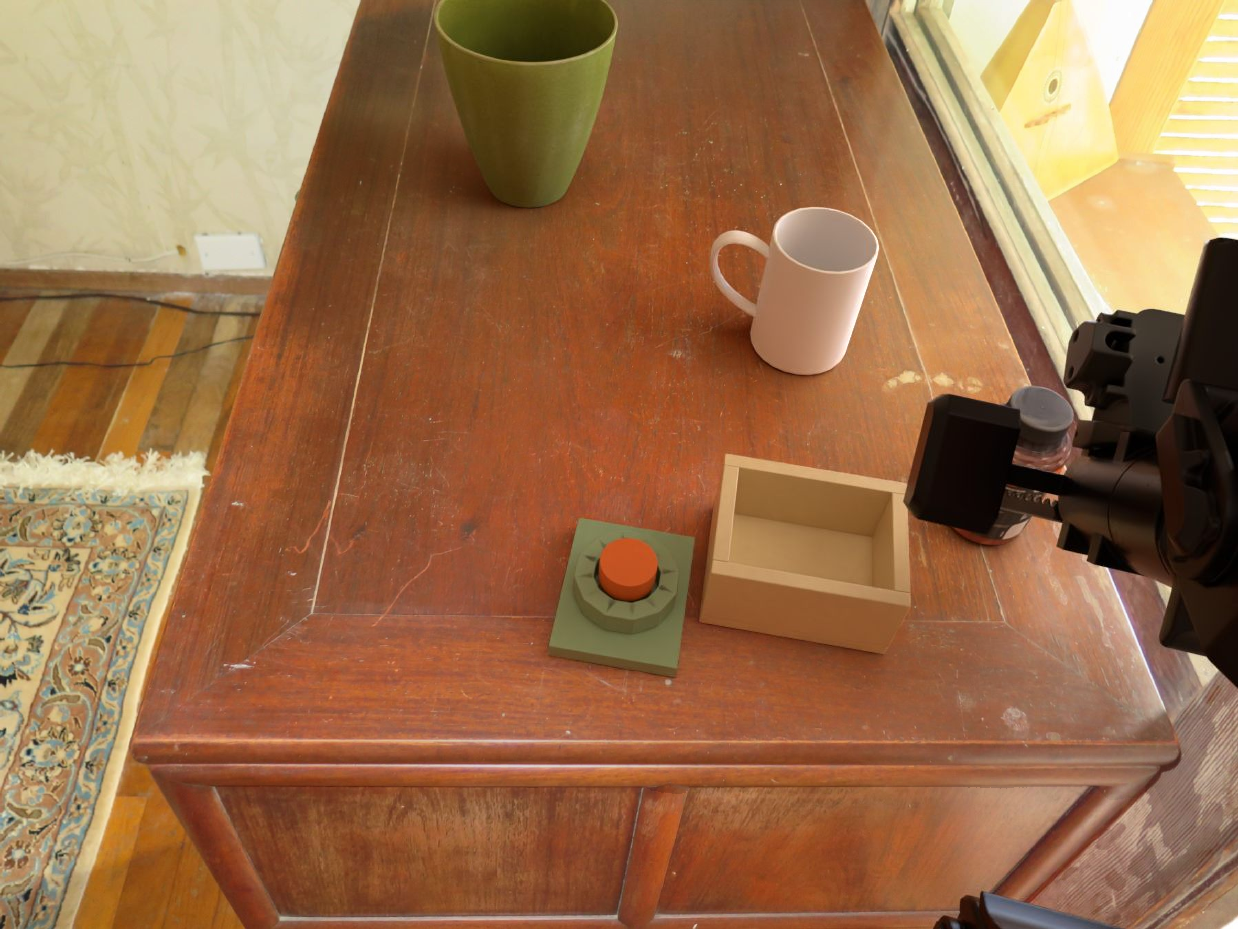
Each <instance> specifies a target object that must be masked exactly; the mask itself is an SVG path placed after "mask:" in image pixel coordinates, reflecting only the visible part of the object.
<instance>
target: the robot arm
mask: <svg viewBox="0 0 1238 929" xmlns="http://www.w3.org/2000/svg"><path fill="white" fill-rule="evenodd" d="M1202 246H1203V247H1202V250H1201V254H1200V257H1199V261H1198V265H1197V268H1196V272H1195V275H1194V279H1193V283H1192V287H1191V290H1190V294H1189V298H1188V302H1187V306H1186V309H1185V312H1184V314H1183V313H1178V312H1173V311H1169V310H1164V309H1158V308H1146V309H1142V310H1140V311H1138V312H1133V311H1127V310H1122V309H1117V310H1115V311H1114V312H1113V313H1108V312H1103V311H1101V312H1099V313H1098V315H1097V316H1096V319H1095V320H1088V319H1087V320H1084V321H1083V322H1082V323H1080V324H1079V325H1078V326H1077V327H1076V329H1074V330H1073V331H1072V333H1071V335H1070V338H1069V341H1068V344H1067V351H1066V359H1065V363H1064V364H1065V365H1064V366H1065V367H1064V371H1063V379H1062V382H1063V384H1064V386H1065V388H1066V389H1069V390H1073V391H1078V392H1080V393H1081V394H1082V395H1083V398H1084V399H1083V402H1084V406H1085V407H1090V408H1094V409H1093V413H1092V417H1091V420H1090V419H1089V420H1088V419H1078V420H1077V424H1076V427H1075V432H1074V435H1073V439H1072V441H1071V447H1072V448H1074V449H1075V448H1076V449H1080V450H1081V451H1080V454H1079V455H1077V456H1076V457H1075V458H1074V459H1073V460H1072V461H1071V462H1070V463H1069V465H1068V467H1067V468H1066V469H1065V471H1064V473H1060V474H1058V473H1053V472H1049V471H1044V470H1039V469H1035V468H1030V467H1026V466H1021V465H1017V464H1012V461H1013V457H1014V453H1015V449H1016V445H1017V442H1018V438H1019V434H1020V430H1021V414H1020V409H1018V408H1013V407H1009V406H1004V405H1000V404H999V403H995V402H990V401H985V400H981V399H976V398H972V397H968V396H962V395H957V394H952V393H941V394H939V395H937V396H936V397H934V398H932V399H931V400H929V401H927V404H926V408H925V412H924V415H923V420H922V423H921V428H920V432H919V436H918V440H917V444H916V448H915V452H914V455H913V460H912V464H911V468H910V472H909V476H908V480H907V488H906V492H905V496H904V500H903V502H904V504H905V505H906V507H907V509H908V513H910V515H911V516H912V517H913V518H915V519H917V520H920V521H923V522H927V523H932V524H935V525H941V526H945V527H949V528H953V529H954V528H958V529H962V530H966V531H971V532H975V533H979V534H984V535H988V534H989V533H990V531H991V529H992V528H993V526H994V524H995V523H996V521H997V519H998V515H999V511H1000V509H1002V510H1006V511H1010V512H1015V513H1019V514H1024V515H1028V516H1032V518H1037V519H1042V520H1046V521H1051V522H1054V523H1059V524H1061V527H1060V531H1059V534H1058V538H1057V541H1056V548H1058V549H1060V550H1062V551H1067V552H1071V553H1075V554H1079V555H1084V556H1086V562H1088V563H1090V564H1092V565H1093V566H1098V567H1103V568H1106V569H1111V570H1116V571H1121V572H1124V573H1127V574H1128V573H1129V574H1133V575H1137V576H1141V577H1146V578H1148V579H1151V580H1153V581H1154V582H1155V581H1156V582H1157V583H1160V584H1162V585H1164V586H1167V587H1169V588H1171V589H1170V593H1169V597H1168V601H1167V604H1166V608H1165V612H1164V615H1163V619H1162V622H1161V626H1160V630H1159V634H1158V642H1159V644H1160V645H1161V646H1162V647H1163V648H1167V649H1171V650H1176V651H1179V652H1184V653H1188V654H1191V655H1197V656H1200V657H1205V658H1206V659H1207V660H1208V661H1209V662H1210V664H1212V666H1214V667H1215V669H1216V670H1218V671H1219V672H1220V673H1221V674H1222V675H1223V676H1224V678H1226V679H1227V680H1228V681H1229V682H1230V683H1231V684H1232V685H1233V686H1234V687H1235V689H1237V690H1238V239H1237V238H1236V239H1235V238H1232V237H1224V236H1223V237H1215V238H1211V239H1208V240H1207V241H1205V242H1204V243H1203V245H1202ZM1006 484H1008V485H1012V486H1017V487H1021V488H1026V489H1030V490H1035V491H1039V492H1044V493H1047V494H1049V495H1054V496H1057V499H1053V500H1052V502H1051V499H1050V498H1049V497H1044V498H1043V500H1042V497H1040V496H1037V497H1036V499H1035V500H1034V498H1033V495H1031V494H1029V495H1028V496H1027V498H1026V499H1025V493H1022V492H1021V493H1020V494H1019V495H1018V497H1017V491H1013V490H1012V492H1011V493H1010V495H1009V492H1008V489H1005V488H1006ZM958 911H959V913H958V915H957V917H953V916H949V915H946V914H944V915H942V916H941V917H939V919H938V920H936V922H935V923H934V926H932V929H1125V927H1120V926H1116V925H1113V924H1108V923H1105V922H1101V921H1097V920H1094V919H1090V918H1087V917H1083V916H1079V915H1075V914H1071V913H1067V912H1063V911H1059V910H1056V909H1052V908H1049V907H1046V906H1045V907H1044V906H1041V905H1037V904H1035V903H1034V904H1033V903H1029V902H1027V901H1026V902H1025V901H1022V900H1018V899H1014V898H1011V897H1007V896H1003V895H999V894H995V893H992V892H988V891H985V890H980V893H979V897H978V896H974V895H971V894H965V895H964V896H962V897H961V898H960V899H959V910H958Z"/></svg>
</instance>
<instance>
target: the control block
mask: <svg viewBox="0 0 1238 929" xmlns="http://www.w3.org/2000/svg"><path fill="white" fill-rule="evenodd" d="M622 538H632V539H637V540H640V541H642V542H644V543H646V544H647V545H648V546H650V547H651V548H652V550H653V551H654V553H655V554H656V557H657V561H658V567H657V573H656V579H655V584H654V586H653V588H652V590H651V591H650V592H649V593H648V594H647V595H646V596H645V597H643V598H641V599H638V600H635V601H622V600H618V599H615V598H613V597H611V596H610V595H608V594H607V593H606V592H605V591H604V590H603V588H602V587H601V585H600V582H599V576H598V574H599V563H600V556H601V553H602V551H603V550H604V548H605V547H606V546H607V545H608V544H610V543H611V542H613V541H615V540H618V539H622ZM572 539H573V540H572V544H571V548H570V552H569V556H568V560H567V566H566V570H565V573H564V578H563V582H562V586H561V591H560V594H559V598H558V599H559V600H558V603H557V607H556V612H555V616H554V620H553V625H552V629H551V633H550V638H549V641H548V650H547V653H548V656H552V657H558V658H563V659H568V660H573V661H574V660H575V661H580V662H584V663H585V662H586V663H590V664H596V665H603V666H608V667H613V668H619V669H625V670H630V671H637V672H641V673H647V674H654V675H658V676H664V677H671V678H676V675H677V672H678V666H679V659H680V652H681V644H682V638H683V637H682V636H683V631H684V622H685V616H686V609H687V603H688V602H687V601H688V594H689V586H690V580H691V572H692V564H693V556H694V550H695V545H696V544H695V543H696V537H695V536H689V535H683V534H679V533H672V532H667V531H660V530H655V529H649V528H642V527H636V526H631V525H624V524H618V523H613V522H606V521H601V520H596V519H589V518H583V517H578V519H577V523H576V527H575V530H574V535H573V538H572Z"/></svg>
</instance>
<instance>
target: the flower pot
mask: <svg viewBox="0 0 1238 929" xmlns="http://www.w3.org/2000/svg"><path fill="white" fill-rule="evenodd" d="M433 12H434V13H433V22H434V27H435V32H436V37H437V41H438V46H439V52H440V55H441V60H442V62H443V63H442V64H443V67H444V68H443V69H444V72H445V75H446V79H447V83H448V88H449V90H450V93H451V97H452V100H453V104H454V107H455V110H456V113H457V115H458V118H459V122H460V124H461V127H462V130H463V132H464V135H465V137H466V141H467V142H468V145H469V147H470V150H471V152H472V155H473V157H474V159H475V162H476V164H477V166H478V168H479V170H480V172H481V175H482V177H483V179H484V181H485V183H486V185H487V187H488V189H489V191H490V193H491V194H492V196H494V197H495V198H496V199H497V200H498V201H501V202H502V203H505V204H507V205H510V206H513V207H518V208H524V209H525V208H527V209H528V208H529V209H530V208H531V209H532V208H533V209H534V208H540V207H545V206H548V205H552V204H554V203H556V202H557V201H559V200H561V199H562V198H563V197H564V195H565V194H566V192H567V191H568V189H569V187H570V185H571V183H572V181H573V179H574V176H575V174H576V171H577V169H578V167H579V165H580V162H581V160H582V158H583V156H584V154H585V151H586V148H587V145H588V143H589V140H590V137H591V135H592V132H593V129H594V126H595V123H596V119H597V117H598V113H599V110H600V106H601V104H602V99H603V96H604V92H605V88H606V85H607V80H608V76H609V71H610V67H611V62H612V58H613V53H614V48H615V42H616V37H617V31H618V28H619V21H618V17H617V15H616V12H615V10H614V9H613V7H612V6H611V4H609V3H608V2H607V1H606V0H439V1H438V4H437V5H436V7H435V9H434V11H433Z"/></svg>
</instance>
